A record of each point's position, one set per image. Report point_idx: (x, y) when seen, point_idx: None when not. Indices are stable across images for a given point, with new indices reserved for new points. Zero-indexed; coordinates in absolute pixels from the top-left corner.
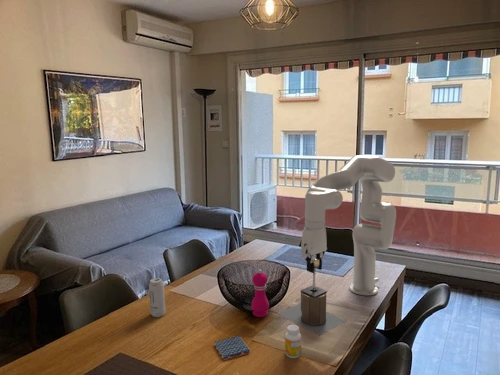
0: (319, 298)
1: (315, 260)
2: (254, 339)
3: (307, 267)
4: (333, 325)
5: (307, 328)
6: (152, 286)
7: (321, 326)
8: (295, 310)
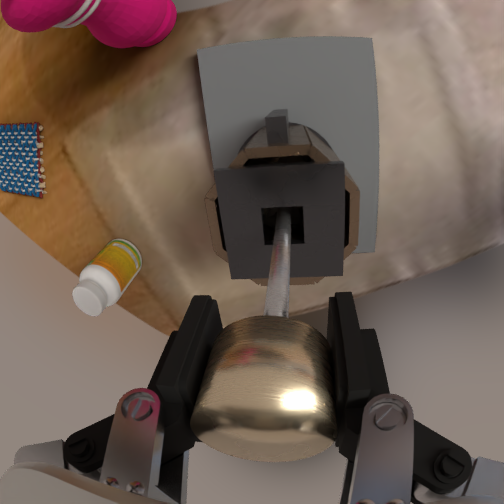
0: (258, 281)
1: (244, 451)
2: (68, 146)
3: (167, 349)
4: None
5: None
6: None
7: None
8: (279, 70)
